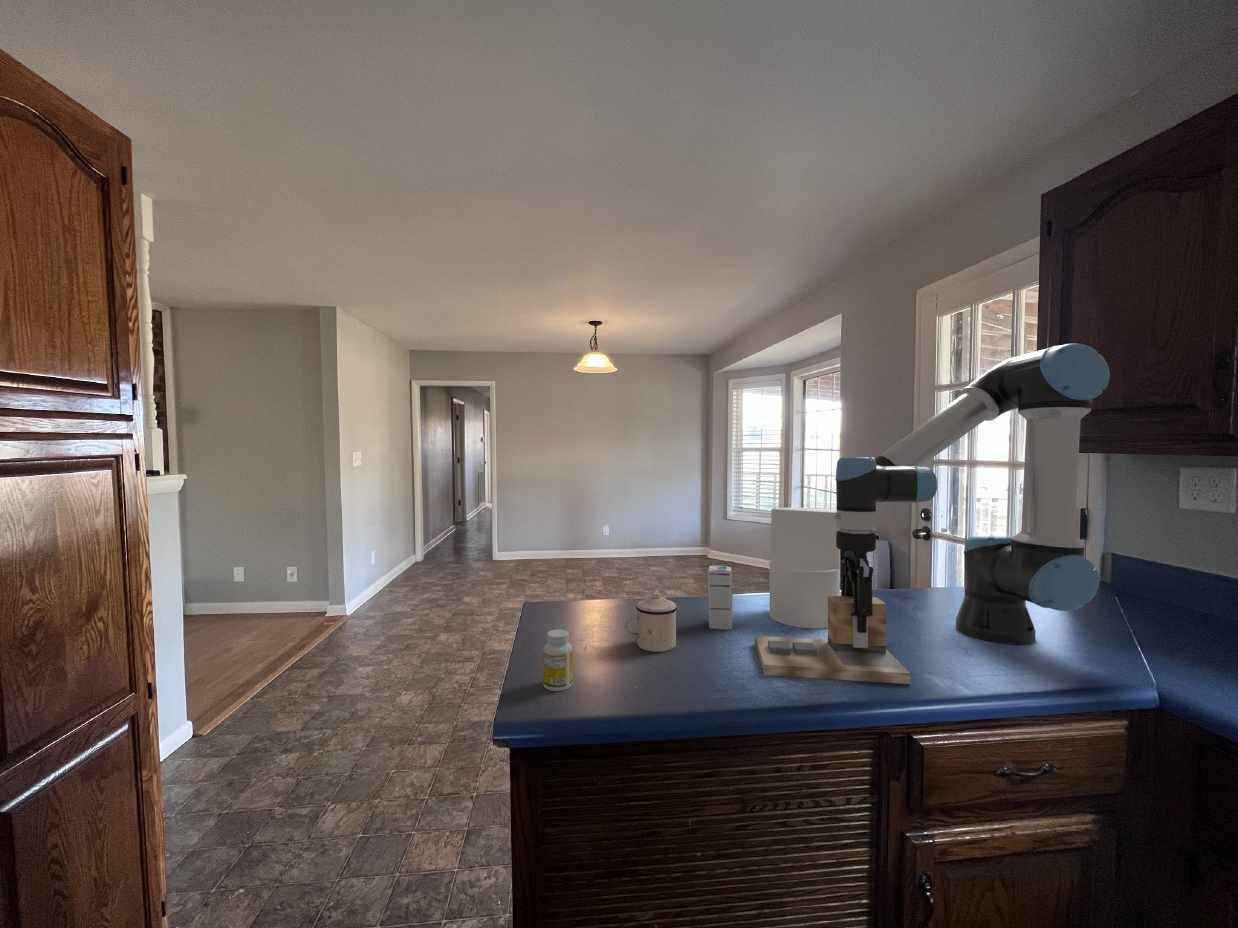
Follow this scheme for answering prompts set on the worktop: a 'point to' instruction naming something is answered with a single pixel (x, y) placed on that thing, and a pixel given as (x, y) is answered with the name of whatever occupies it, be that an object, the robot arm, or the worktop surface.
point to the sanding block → (843, 625)
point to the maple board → (830, 663)
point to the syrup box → (720, 597)
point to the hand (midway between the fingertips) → (855, 641)
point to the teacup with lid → (654, 624)
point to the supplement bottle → (557, 661)
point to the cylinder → (803, 566)
